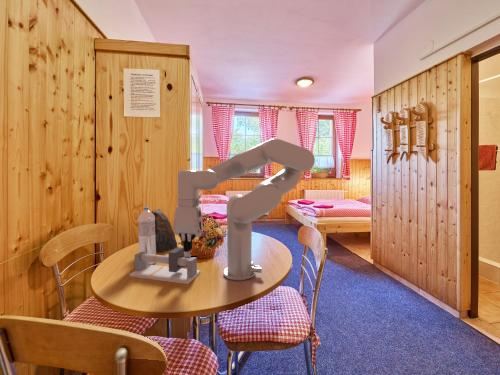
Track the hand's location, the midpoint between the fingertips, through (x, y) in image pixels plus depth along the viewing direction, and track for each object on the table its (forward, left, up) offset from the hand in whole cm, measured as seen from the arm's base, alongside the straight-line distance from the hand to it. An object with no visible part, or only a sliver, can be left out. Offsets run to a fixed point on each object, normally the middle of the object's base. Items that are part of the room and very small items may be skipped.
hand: (187, 250), depth 94 cm
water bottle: (+24, -8, -11) cm, 28 cm away
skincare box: (+10, -22, -11) cm, 27 cm away
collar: (+5, 0, -8) cm, 9 cm away
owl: (+29, -28, -11) cm, 42 cm away
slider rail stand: (+10, 0, -11) cm, 15 cm away
